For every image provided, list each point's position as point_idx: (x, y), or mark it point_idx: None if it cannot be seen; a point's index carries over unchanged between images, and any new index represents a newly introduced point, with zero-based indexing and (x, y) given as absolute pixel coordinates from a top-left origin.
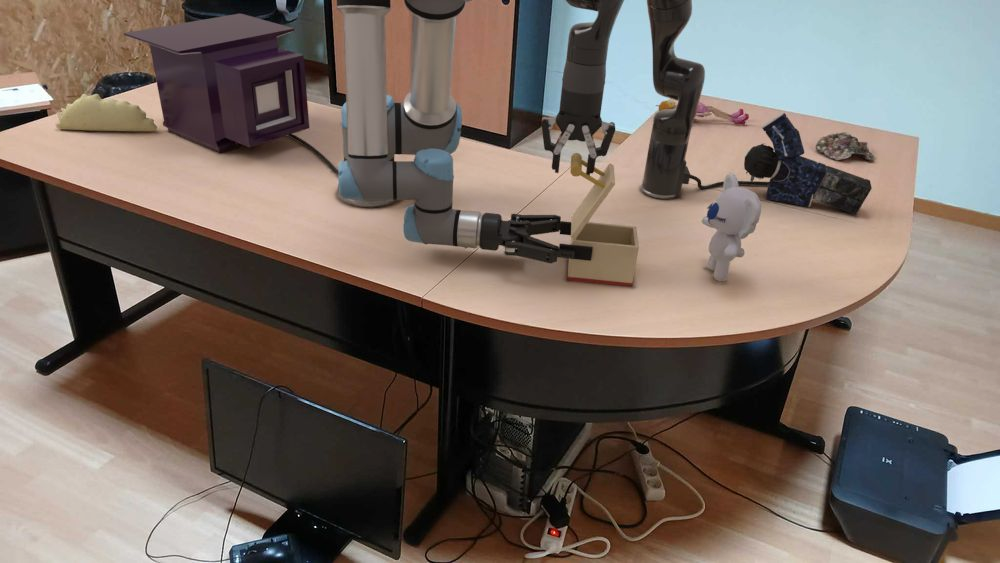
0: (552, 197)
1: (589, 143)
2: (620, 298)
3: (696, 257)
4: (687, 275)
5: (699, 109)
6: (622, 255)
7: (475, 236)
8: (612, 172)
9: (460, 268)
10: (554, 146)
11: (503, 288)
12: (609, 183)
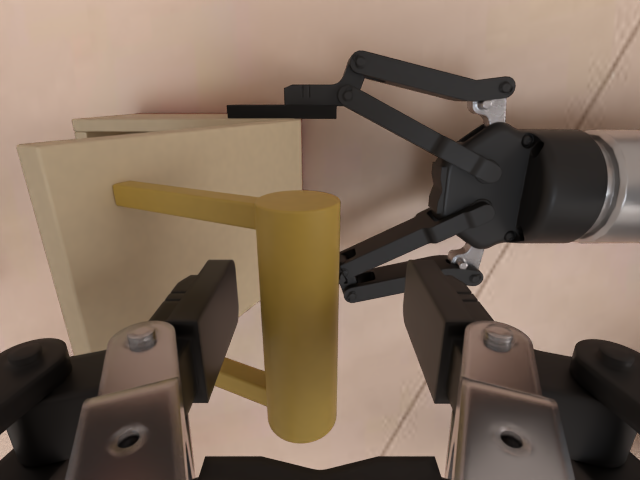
0: (346, 461)
1: (134, 418)
2: (161, 45)
3: (9, 281)
4: (15, 196)
5: None
6: (136, 117)
7: (602, 130)
8: (69, 312)
9: (573, 114)
10: (541, 389)
11: (466, 32)
12: (56, 146)
